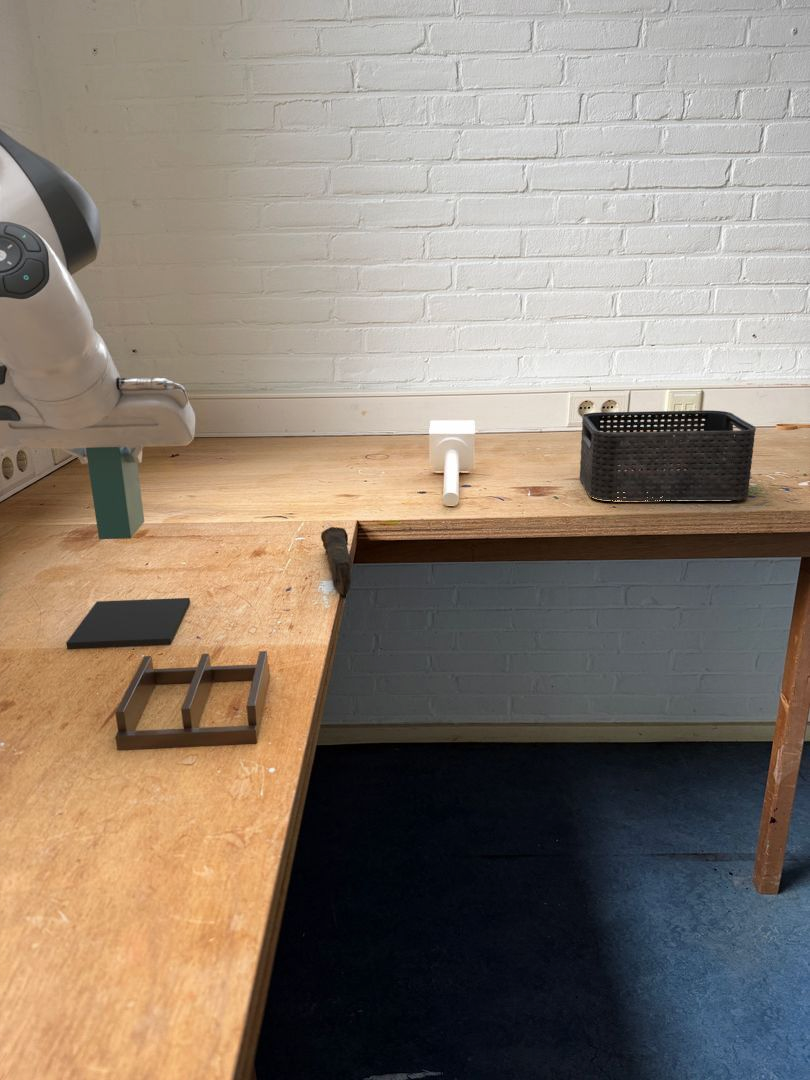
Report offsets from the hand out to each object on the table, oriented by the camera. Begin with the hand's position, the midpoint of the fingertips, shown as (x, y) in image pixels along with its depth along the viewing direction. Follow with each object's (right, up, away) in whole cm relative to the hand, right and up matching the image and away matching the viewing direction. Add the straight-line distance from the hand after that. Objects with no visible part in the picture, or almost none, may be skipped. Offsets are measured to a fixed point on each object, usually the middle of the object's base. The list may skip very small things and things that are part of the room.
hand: (112, 458), depth 88 cm
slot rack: (+12, -26, -8) cm, 30 cm away
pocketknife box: (0, -8, +3) cm, 8 cm away
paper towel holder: (+41, +2, +70) cm, 82 cm away
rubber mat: (-2, -20, +11) cm, 23 cm away
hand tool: (+23, -14, +27) cm, 38 cm away
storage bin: (+81, 0, +65) cm, 104 cm away
